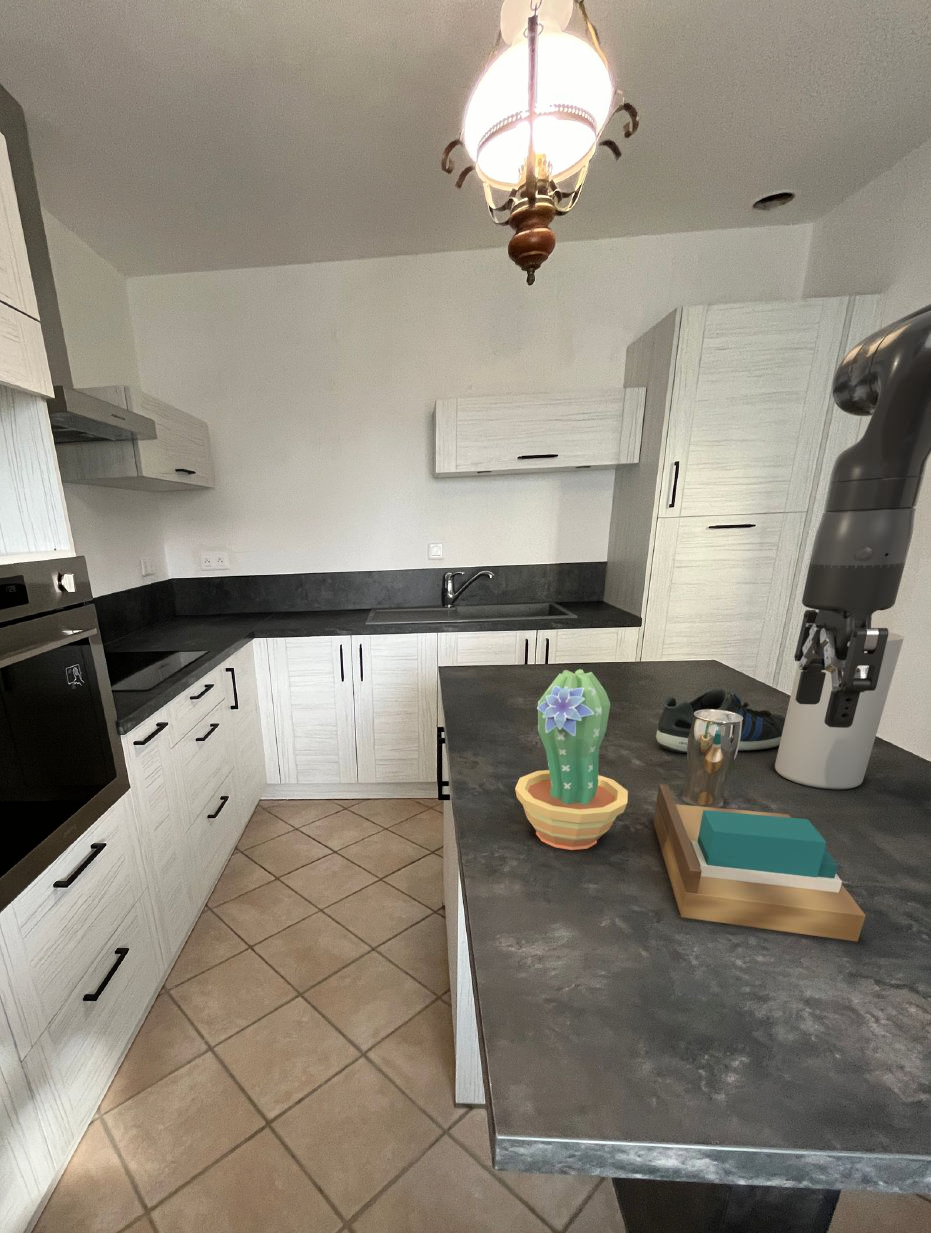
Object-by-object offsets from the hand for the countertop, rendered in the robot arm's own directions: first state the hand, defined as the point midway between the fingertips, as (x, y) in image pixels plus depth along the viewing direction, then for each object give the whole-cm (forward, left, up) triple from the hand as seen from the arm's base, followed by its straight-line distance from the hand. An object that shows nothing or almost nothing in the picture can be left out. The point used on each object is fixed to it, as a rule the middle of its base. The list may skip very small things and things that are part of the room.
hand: (821, 714), depth 65 cm
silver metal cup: (+4, -25, -23) cm, 34 cm away
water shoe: (-6, -55, -23) cm, 60 cm away
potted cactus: (+25, -8, -23) cm, 35 cm away
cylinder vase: (-17, -41, -23) cm, 50 cm away
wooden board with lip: (+4, -3, -23) cm, 23 cm away
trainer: (+3, +2, -19) cm, 19 cm away
